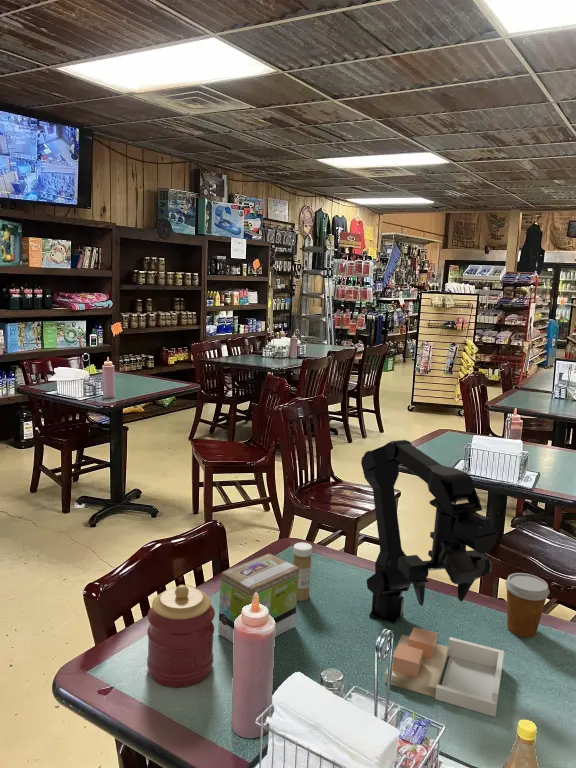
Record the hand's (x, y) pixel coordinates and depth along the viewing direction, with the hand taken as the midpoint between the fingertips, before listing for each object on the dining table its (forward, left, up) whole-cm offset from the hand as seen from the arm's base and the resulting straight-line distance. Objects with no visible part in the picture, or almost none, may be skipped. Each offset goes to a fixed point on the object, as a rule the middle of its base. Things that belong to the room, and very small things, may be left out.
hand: (440, 602), depth 132 cm
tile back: (-3, -2, -10) cm, 11 cm away
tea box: (-38, -8, -13) cm, 41 cm away
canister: (-46, -27, -13) cm, 55 cm away
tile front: (-4, -9, -10) cm, 15 cm away
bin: (+8, -6, -12) cm, 16 cm away
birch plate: (-3, -6, -12) cm, 14 cm away
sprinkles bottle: (-35, +10, -13) cm, 38 cm away
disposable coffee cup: (+16, +20, -13) cm, 28 cm away
